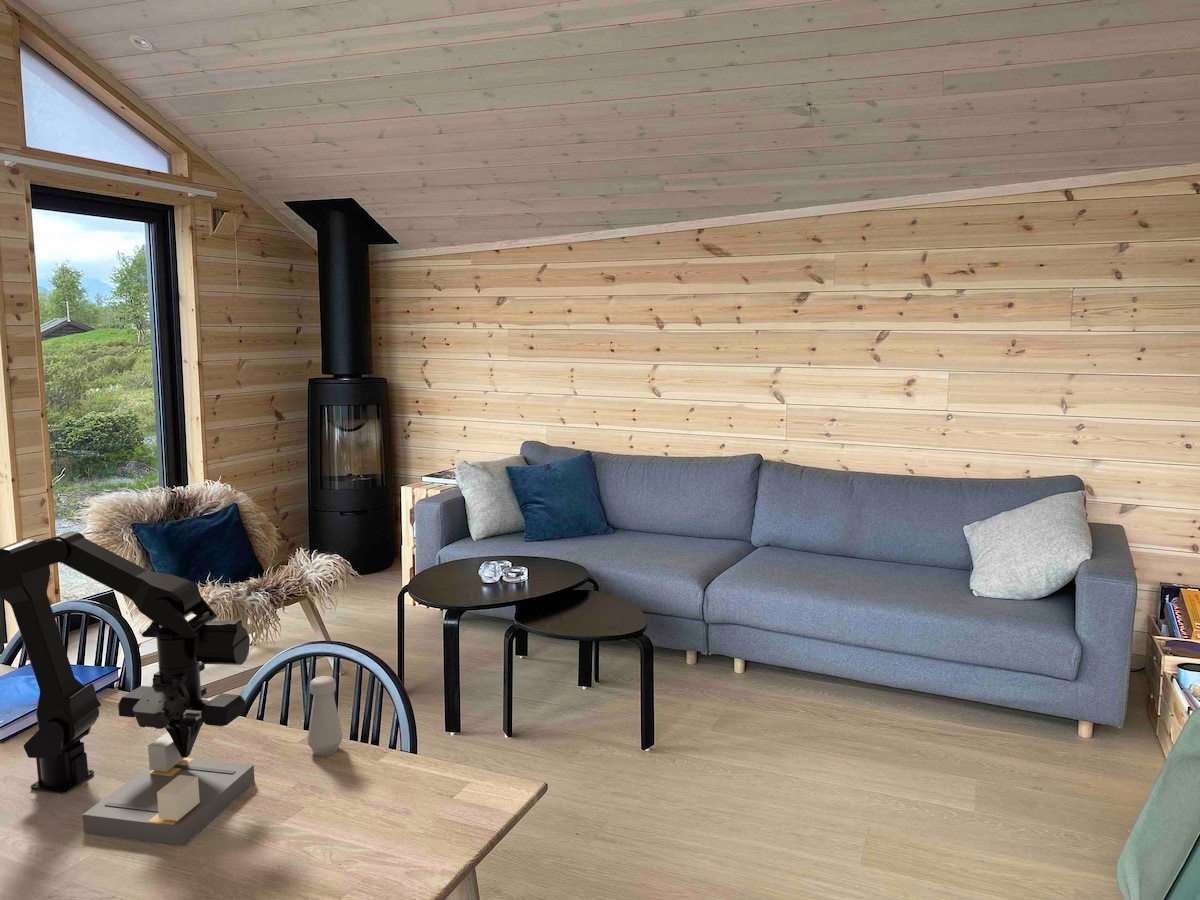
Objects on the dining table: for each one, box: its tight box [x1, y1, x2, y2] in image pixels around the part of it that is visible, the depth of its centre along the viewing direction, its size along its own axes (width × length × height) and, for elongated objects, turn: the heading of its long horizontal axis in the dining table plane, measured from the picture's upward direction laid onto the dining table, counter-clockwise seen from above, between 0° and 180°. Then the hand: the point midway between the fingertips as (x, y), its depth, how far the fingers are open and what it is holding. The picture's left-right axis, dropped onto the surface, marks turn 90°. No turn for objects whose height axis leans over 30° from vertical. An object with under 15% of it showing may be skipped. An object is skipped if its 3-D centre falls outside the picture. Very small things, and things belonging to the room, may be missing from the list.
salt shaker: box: [307, 675, 343, 757], centre depth 156 cm, size 6×6×13 cm
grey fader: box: [147, 731, 184, 772], centre depth 146 cm, size 3×5×4 cm, turn 169°
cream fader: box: [157, 775, 200, 821], centre depth 132 cm, size 3×5×4 cm, turn 169°
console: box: [82, 757, 256, 847], centre depth 139 cm, size 16×18×3 cm
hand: (185, 756), depth 145 cm, fingers closed
